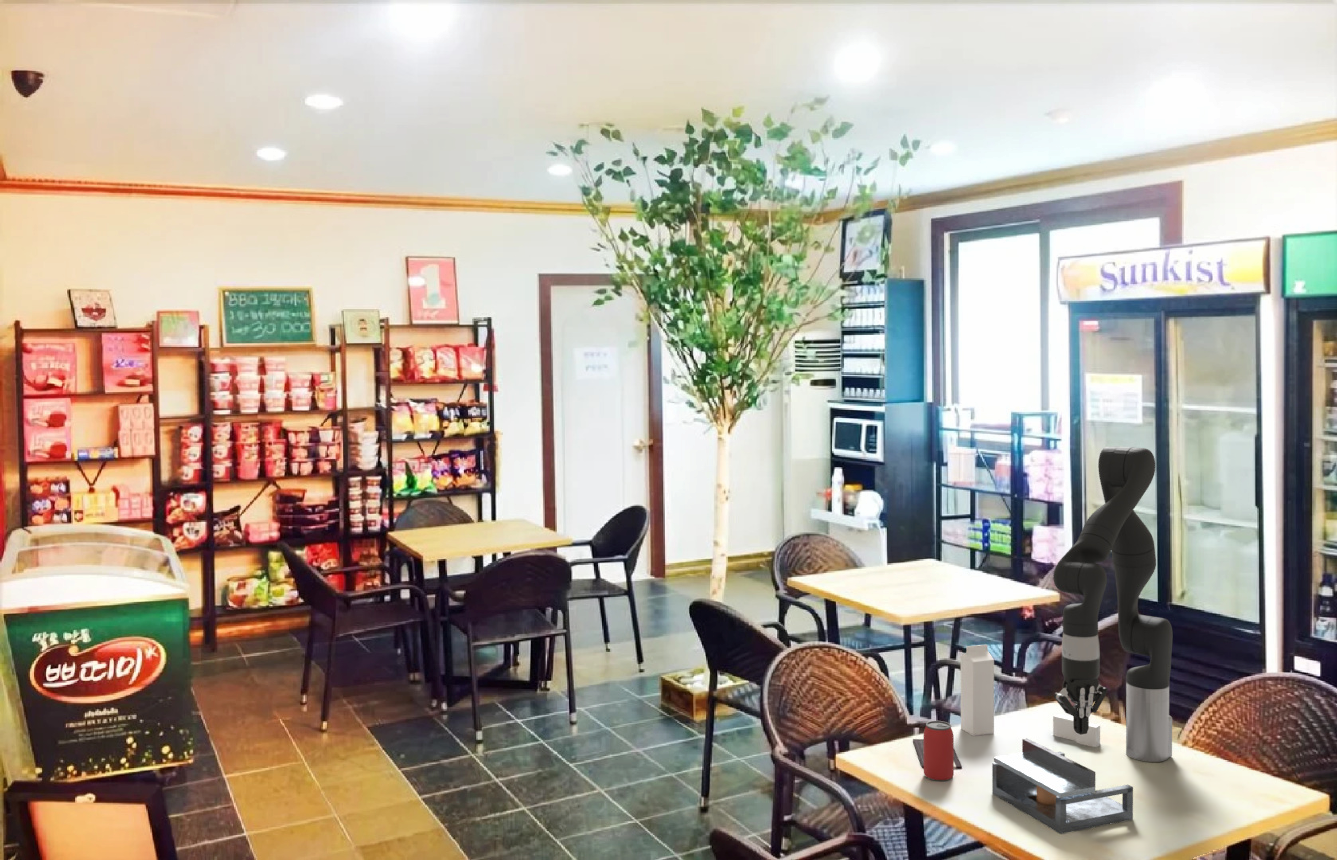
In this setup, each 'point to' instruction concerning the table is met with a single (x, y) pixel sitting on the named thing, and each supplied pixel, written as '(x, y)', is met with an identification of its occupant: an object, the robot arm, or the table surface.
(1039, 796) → the rounded orange stub
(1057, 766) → the cover
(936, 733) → the beer can
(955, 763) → the chocolate bar
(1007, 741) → the table surface
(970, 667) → the milk
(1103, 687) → the robot arm
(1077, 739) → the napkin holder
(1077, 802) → the housing
